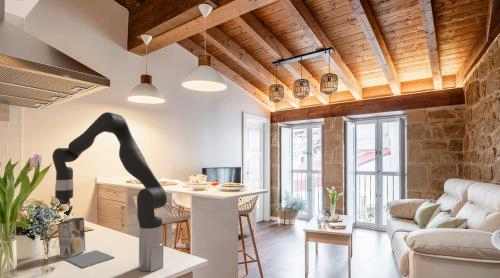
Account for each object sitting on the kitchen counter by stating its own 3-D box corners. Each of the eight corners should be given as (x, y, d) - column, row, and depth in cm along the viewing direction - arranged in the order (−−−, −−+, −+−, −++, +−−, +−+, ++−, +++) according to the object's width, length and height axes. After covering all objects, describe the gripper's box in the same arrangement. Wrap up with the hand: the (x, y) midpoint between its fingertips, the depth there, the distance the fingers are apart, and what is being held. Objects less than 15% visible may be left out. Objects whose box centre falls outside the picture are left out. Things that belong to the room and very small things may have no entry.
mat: (114, 258, 134) (114, 257, 134) (82, 268, 122) (82, 267, 122) (96, 250, 143) (96, 250, 143) (65, 259, 132) (65, 259, 132)
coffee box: (74, 250, 143) (73, 217, 144) (85, 250, 142) (84, 217, 143) (58, 257, 134) (57, 222, 135) (70, 257, 133) (69, 221, 134)
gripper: (78, 188, 144) (78, 224, 143) (66, 186, 151) (65, 220, 151) (62, 190, 138) (61, 228, 137) (50, 188, 145) (49, 223, 145)
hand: (63, 224), depth 144 cm, fingers closed
